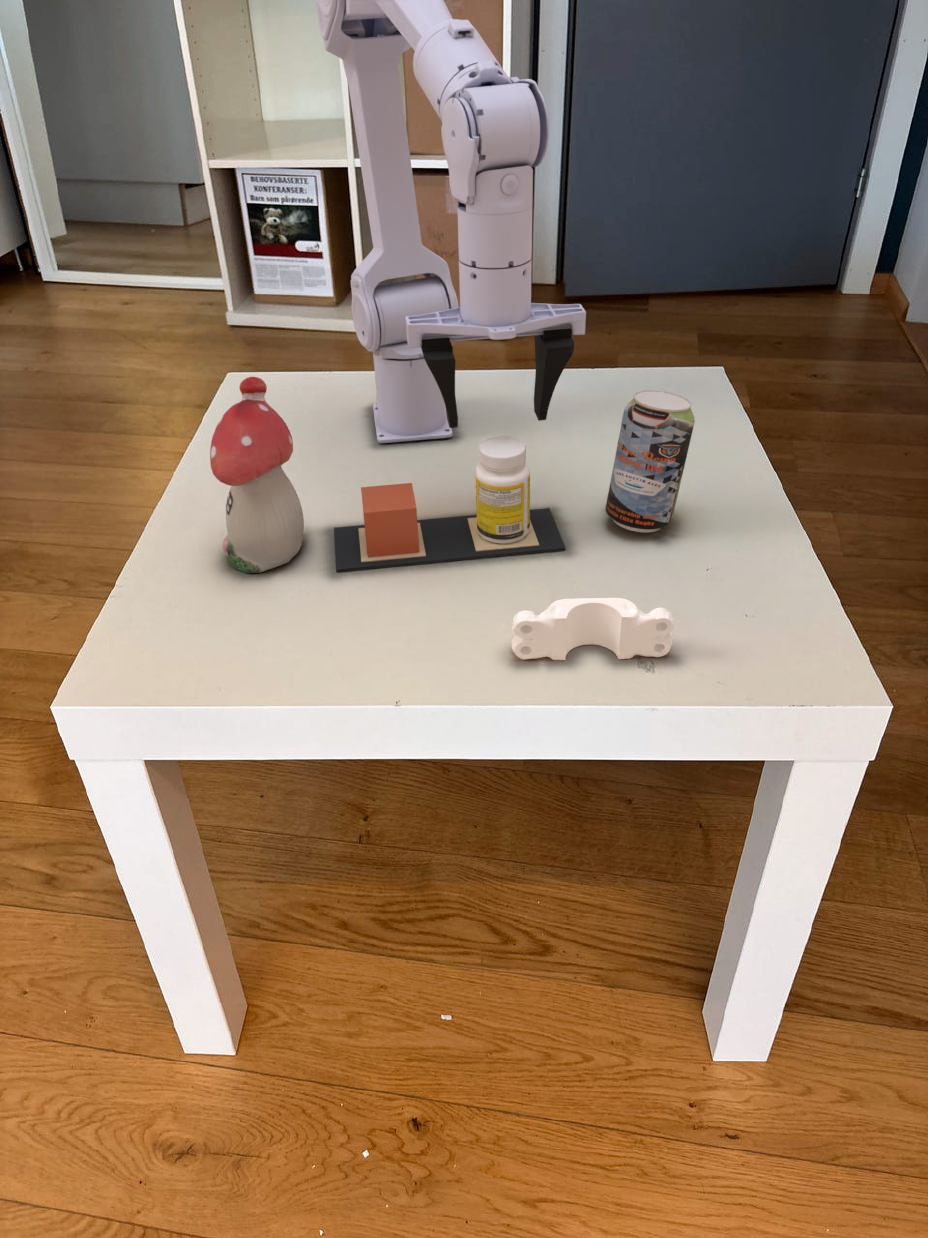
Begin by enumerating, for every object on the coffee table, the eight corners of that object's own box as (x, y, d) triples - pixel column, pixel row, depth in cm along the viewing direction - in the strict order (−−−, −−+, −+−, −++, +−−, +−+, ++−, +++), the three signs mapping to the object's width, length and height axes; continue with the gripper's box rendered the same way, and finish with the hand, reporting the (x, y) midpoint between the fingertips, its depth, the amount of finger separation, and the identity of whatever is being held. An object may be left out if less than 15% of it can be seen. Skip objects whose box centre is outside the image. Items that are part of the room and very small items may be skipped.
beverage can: (591, 526, 89) (598, 402, 82) (638, 495, 93) (648, 375, 86) (649, 550, 85) (662, 423, 78) (695, 517, 90) (711, 394, 82)
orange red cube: (365, 530, 88) (360, 486, 86) (414, 526, 89) (411, 482, 86) (367, 557, 85) (363, 512, 82) (419, 552, 85) (416, 507, 83)
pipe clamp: (666, 637, 75) (671, 596, 73) (672, 658, 73) (677, 616, 71) (510, 640, 76) (510, 599, 73) (511, 661, 74) (511, 619, 71)
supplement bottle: (496, 512, 90) (495, 428, 85) (539, 527, 88) (541, 442, 83) (466, 535, 87) (463, 449, 82) (510, 551, 85) (510, 464, 80)
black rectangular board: (334, 530, 90) (334, 526, 89) (549, 510, 91) (549, 506, 91) (336, 572, 84) (336, 568, 84) (565, 550, 86) (565, 546, 85)
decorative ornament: (267, 519, 91) (241, 365, 83) (327, 532, 89) (308, 376, 80) (207, 570, 85) (172, 409, 76) (271, 586, 82) (243, 422, 74)
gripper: (407, 280, 73) (417, 446, 81) (598, 267, 74) (589, 432, 82) (399, 252, 78) (409, 411, 86) (577, 241, 80) (571, 397, 88)
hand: (496, 419), depth 85 cm, fingers open, 7 cm apart
